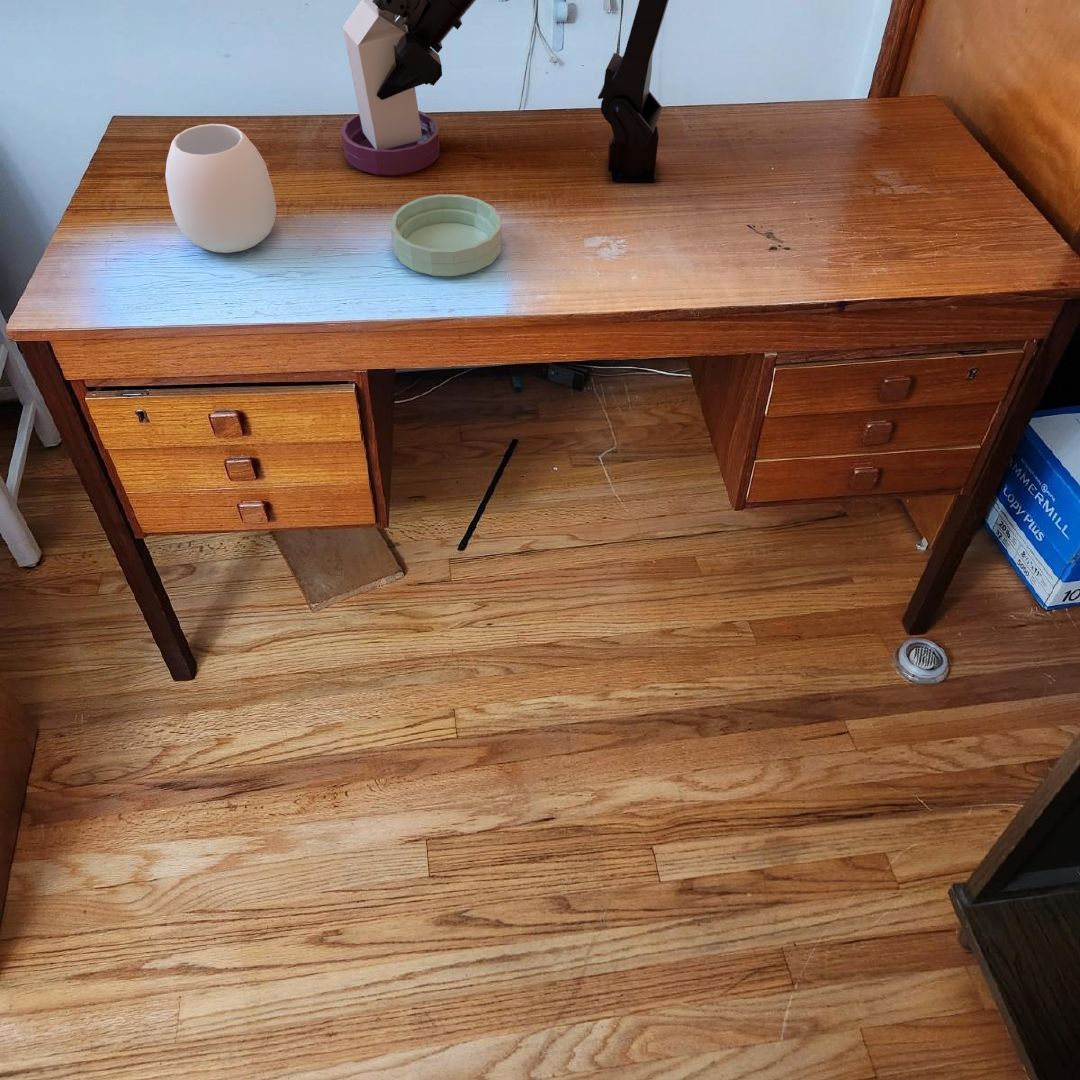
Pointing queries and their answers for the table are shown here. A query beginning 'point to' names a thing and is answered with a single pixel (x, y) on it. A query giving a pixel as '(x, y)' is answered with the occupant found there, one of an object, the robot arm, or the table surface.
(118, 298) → the table surface
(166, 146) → the table surface
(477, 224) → the celadon bowl
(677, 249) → the table surface
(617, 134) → the robot arm
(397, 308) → the table surface
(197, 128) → the cup
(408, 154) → the plum bowl
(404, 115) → the milk carton
